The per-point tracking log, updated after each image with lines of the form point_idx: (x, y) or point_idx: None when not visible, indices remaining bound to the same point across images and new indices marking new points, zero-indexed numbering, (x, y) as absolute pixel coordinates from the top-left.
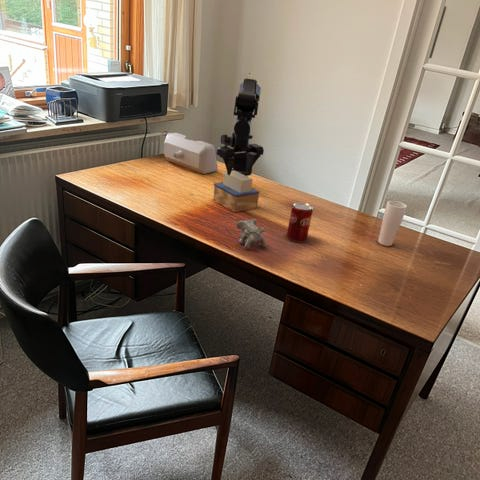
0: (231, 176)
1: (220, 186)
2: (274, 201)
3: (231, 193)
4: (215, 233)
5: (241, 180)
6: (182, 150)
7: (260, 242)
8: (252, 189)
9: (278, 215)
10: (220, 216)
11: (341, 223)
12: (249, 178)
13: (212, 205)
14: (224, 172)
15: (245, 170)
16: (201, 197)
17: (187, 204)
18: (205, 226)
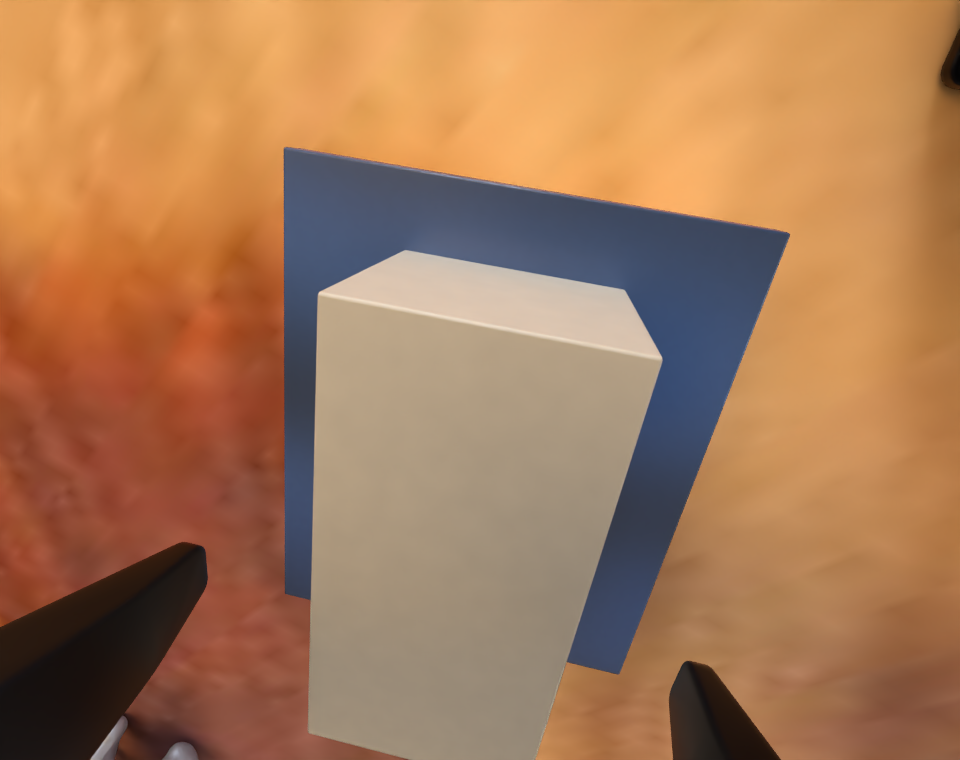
0: (318, 523)
1: (298, 309)
2: (907, 554)
3: (287, 525)
4: (49, 590)
5: (309, 728)
6: None
7: None
8: (608, 604)
9: (613, 693)
10: (208, 468)
11: None
12: (503, 757)
13: (280, 278)
14: (317, 316)
15: None
16: (306, 20)
17: (64, 115)
18: (32, 506)
